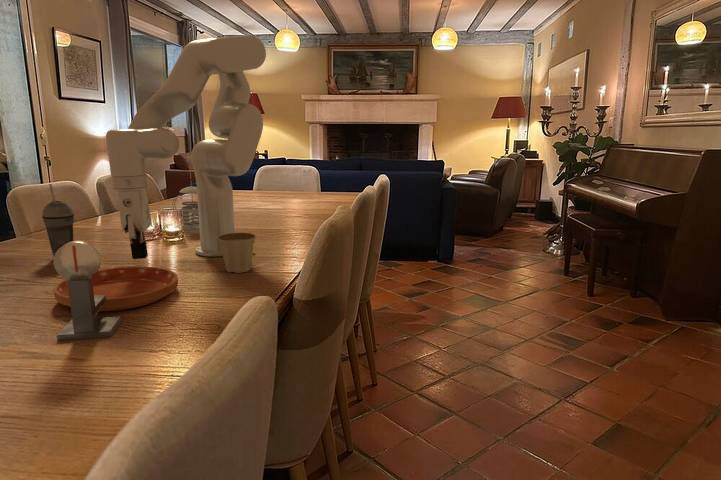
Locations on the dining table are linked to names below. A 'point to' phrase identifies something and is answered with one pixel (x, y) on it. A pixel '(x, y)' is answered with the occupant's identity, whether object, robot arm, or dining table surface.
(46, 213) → the beverage cup
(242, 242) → the flower pot
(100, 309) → the plunger
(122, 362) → the dining table surface
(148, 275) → the saucer
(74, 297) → the indicator stand
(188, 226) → the french press
